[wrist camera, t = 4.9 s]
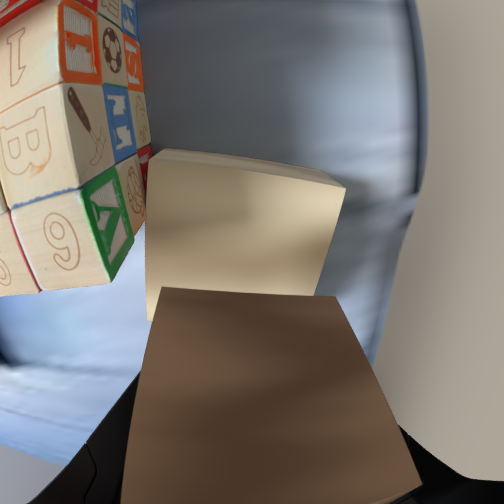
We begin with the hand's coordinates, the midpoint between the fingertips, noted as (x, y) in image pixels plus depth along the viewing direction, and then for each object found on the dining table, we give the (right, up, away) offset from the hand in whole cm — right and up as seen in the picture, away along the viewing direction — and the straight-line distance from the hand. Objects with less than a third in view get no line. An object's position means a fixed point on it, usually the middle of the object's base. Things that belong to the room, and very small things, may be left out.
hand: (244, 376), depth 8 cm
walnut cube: (0, 0, +1) cm, 1 cm away
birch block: (-1, +5, +10) cm, 11 cm away
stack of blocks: (-9, +16, +3) cm, 19 cm away
